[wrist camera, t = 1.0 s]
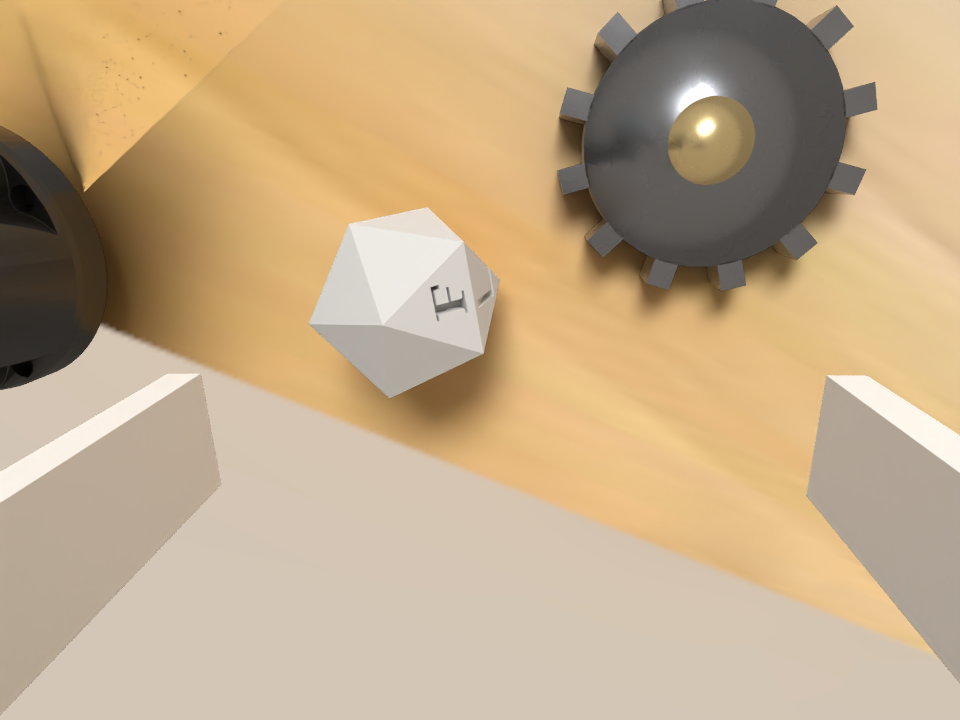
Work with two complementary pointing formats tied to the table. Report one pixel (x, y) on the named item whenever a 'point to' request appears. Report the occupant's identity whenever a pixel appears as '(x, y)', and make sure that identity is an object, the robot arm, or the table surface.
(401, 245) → the die
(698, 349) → the table surface
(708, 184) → the gear plate
